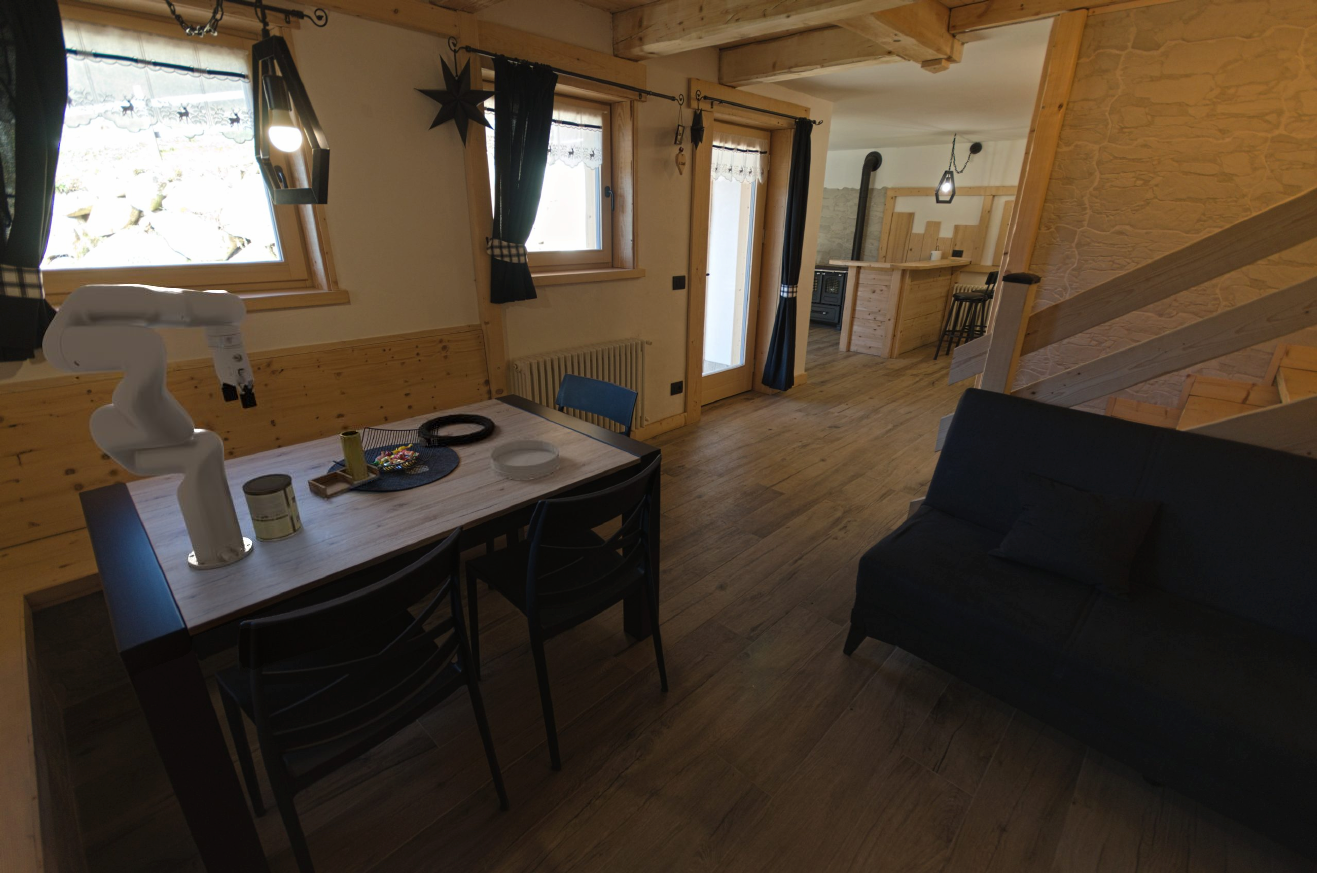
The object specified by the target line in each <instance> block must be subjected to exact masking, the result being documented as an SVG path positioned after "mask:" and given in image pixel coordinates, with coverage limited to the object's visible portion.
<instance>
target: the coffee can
mask: <svg viewBox="0 0 1317 873" xmlns="http://www.w3.org/2000/svg"><path fill="white" fill-rule="evenodd" d="M242 491H243V494H244V497H245V501H246V505H247V508H248V513H249V515H250V519H251V523H252V527H253V530H254V533H255V538H256V539H257V540H258V541H259V542H263V543H271V542H273V543H275V542H279V541H283V540H286V539H289V538H291V537H293V536H295V535H297V534H298V533H300V532H301V530H302V529H303V524H302V520H301V516H300V511H299V507H298V503H297V499H296V495H295V492H294V491H295V490H294V485H293V479H292V477H291V475H289V474H286V473H271V474H265V475H264V474H263V475H261V476H257V477H254V478H252V479H250V480H248V481H246V482H245V483H244V484H243V485H242Z"/></svg>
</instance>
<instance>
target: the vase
mask: <svg viewBox="0 0 1317 873" xmlns="http://www.w3.org/2000/svg"><path fill="white" fill-rule="evenodd" d="M339 435H340V436H339V437H340V442H341V447H342V452H343V458H344V461H345V462H344V464H345V467H346V473H347V475H349V476H351V477H353V479H354V481H358V480H362V479H365V478H367V477H368V476H369V473H368V470H367V465H366V458H365V456H366V455H365V452H364V448H363V443H362V436H361V432H360V430H358V429H357V430H355V429H351V430H345V431H342V432H341V433H340V434H339Z"/></svg>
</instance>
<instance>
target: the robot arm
mask: <svg viewBox="0 0 1317 873" xmlns="http://www.w3.org/2000/svg"><path fill="white" fill-rule="evenodd" d="M246 318H247V308H246V305H245V302H243V300H242V299H241V298H240V297H239V296H238V295H237V294H235V293H230V291H227V290H222V289H221V290H217V289H215V290H193V289H184V288H171V287H160V286H152V285H145V284H86V285H82V286H79V287H76V289H74V290H73V291H72V292H71V293H70V294H69V295H68V296H66V298H65V300H64V301H63V302H62V303H61V306H59V308H58V311H57V312H56V313H55V316H54V318H53V319H52V321H51V322H50V324H49V325H48V327H47V329H46V331H45V333H44V336H43V339H42V343H41V344H42V346H41V347H42V351H43V352H42V353H43V355H44V358H45V360H46V361H47V362H48V363H49V365H50V366H51V367H53V368H55V369H56V370H58V371H62V372H65V373H71V374H72V373H74V374H75V373H76V374H79V373H80V374H82V373H84V374H87V373H110V372H112V373H113V372H125V373H124V377H123V379H121V380H120V382H118V384H117V385H116V387H115V389H114V390H113V393H112V396H111V402H112V403H109V404H105V405H103V406H100V407H98V408H97V409H96V410H95V411H93V413H92V414H91V416H90V418H89V432H90V434H91V437H92V439H93V441H94V443H95V444H96V445H97V447H98V448H99V449H101V450H102V452H104V453H105V454H106V455H108V456H109V457H110V458H111V459H113V460H114V461H115V462H116V463H117V464H119V465H120V466H121V467H122V468H123V469H125V470H126V471H128V472H129V473H130V474H131V473H132V474H133V475H136V476H147V477H148V476H160V475H161V476H162V475H171V474H175V475H176V474H178V475H179V474H182V475H183V476H184V477H183V479H182V481H181V482H180V483H179V484H178V486H177V488H176V499H177V502H178V505H179V508H180V511H181V514H182V517H183V521H184V523H185V527H186V530H187V534H188V536H189V539H190V543H191V546H192V550H193V551H192V552H190V553H189V555H188V556H187V563H188V565H189V566H190V567H191V568H193V569H199V570H209V569H210V570H211V569H215V568H222V567H224V566H229V565H231V564H234V563H235V562H236V563H237V562H238V561H240V560H242V559H244V558H245V557H247V556H248V555H249V554H251V552H252V551H253V550H254V543H253V541H252V540H251V539H249V538H248V537H243V532H242V529H241V525H240V522H239V519H238V514H237V512H236V508H235V504H234V501H233V500H234V499H233V497H232V492H231V490H230V486H229V482H228V478H227V473H226V472H227V471H226V467H225V466H226V465H225V452H224V451H225V449H224V444H223V440H222V438H221V436H220V435H219V434H218V433H216V432H215V431H212V430H209V429H204V428H195V422H194V421H193V419H192V417H191V415H190V414H189V413H188V411H187V410H186V409H185V408H184V407H183V405H181V404H180V402H178V400H177V399H176V398H175V397H174V395H172V393H171V392H170V391H169V390H168V388H167V366H168V364H167V362H168V355H167V354H168V353H167V344H166V342H165V340H164V339H163V337H162V336H161V334H160V333H159V332H157V331H156V330H155V329H192V328H193V329H194V328H201V327H202V329H203V332H204V336H205V340H206V343H207V344H206V345H207V347H208V349H210V350H211V355H212V361H213V365H214V369H215V374H216V378H217V379H218V381H219V386H220V387H221V388H220V389H221V392H222V396H223V400H224V402H225V403H229V402H233V401H234V402H235V401H238V400H239V399H240V403H241V407H242V409H244V410H247V409H251V408H256V407H257V406H258V404H257V403H258V402H257V400H256V395H255V389H254V386H255V385H254V384H253V383H254V382H255V378H254V373H253V370H252V367H251V363H250V360H249V357H248V354H247V352H246V350H245V347H244V345H245V342H244V339H243V335H242V334H243V333H242V331H241V324H243V323H244V322H245V321H246ZM237 390H238V391H239V393H238V391H237Z"/></svg>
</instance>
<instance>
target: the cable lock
mask: <svg viewBox="0 0 1317 873" xmlns="http://www.w3.org/2000/svg"><path fill="white" fill-rule="evenodd" d="M460 422H462V424H469V423H470V424H475V423H476V424H475V425H481V426H483V428H481V429H480V430H478V431H475V432H470V433H466V434H460V435H459V434H458V435H439V434H433V433H430V431H431V430H433V429H432V428H434V427H436V426H438V427H441V426H440V425H442V426H446V425H450V423H453V424H459V423H460ZM436 428H437V427H436ZM434 429H435V428H434ZM495 429H496V425H495V422H494V420H492V419H491V418H489V417H487V416H484V415H480V414H473V413H472V414H470V413H458V414H456V413H455V414H447V415H443V416H438V417H435V418H431V419H429V420H427V421H425V422H423V423H421V424H420V426H418V429H417V432H416V434H417V437H418V443H419V445H420V446H421V445H422V446H426V447H428V446H429V445H430V444H431V446H432V445H434V446H435V445H436V444H437V445H438V446H445V447H446V446H447V447H448V446H450V447H453V446H460V445H468V444H472V443H476V442H480V441H482V440H484V439H486V438H489V437H491V435H492V434H493V433H494V432H495ZM427 443H428V446H427ZM422 446H421V447H422ZM429 447H430V446H429Z"/></svg>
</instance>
